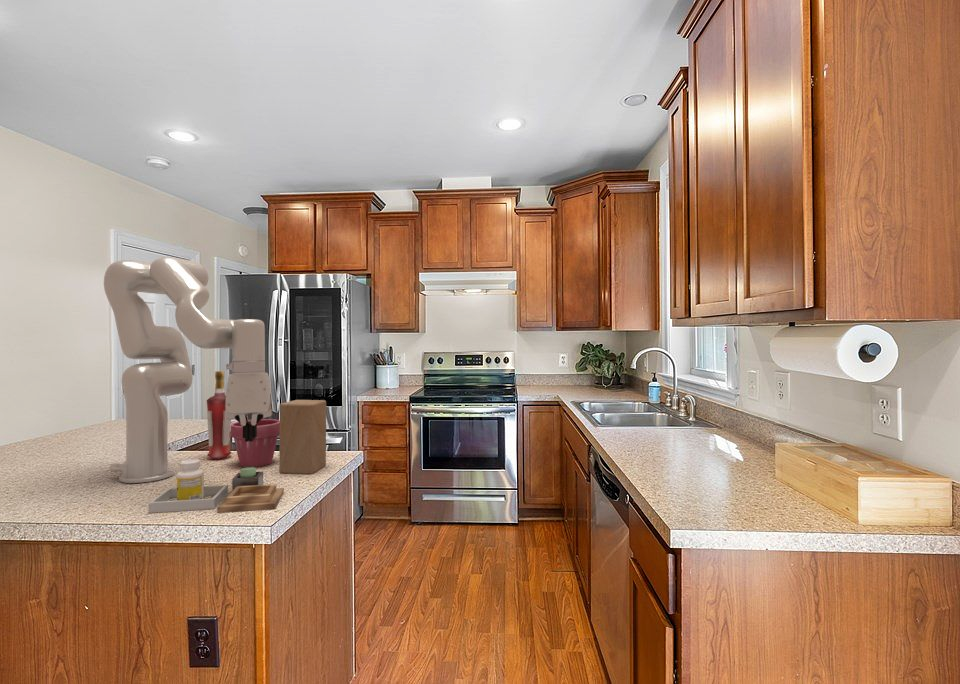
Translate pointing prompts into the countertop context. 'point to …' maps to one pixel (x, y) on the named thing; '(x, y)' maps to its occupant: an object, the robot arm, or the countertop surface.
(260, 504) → the brown wooden square tray
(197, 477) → the supplement bottle
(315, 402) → the wooden block
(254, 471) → the button
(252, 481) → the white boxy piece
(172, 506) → the frame
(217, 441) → the liquor
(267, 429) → the plant pot
